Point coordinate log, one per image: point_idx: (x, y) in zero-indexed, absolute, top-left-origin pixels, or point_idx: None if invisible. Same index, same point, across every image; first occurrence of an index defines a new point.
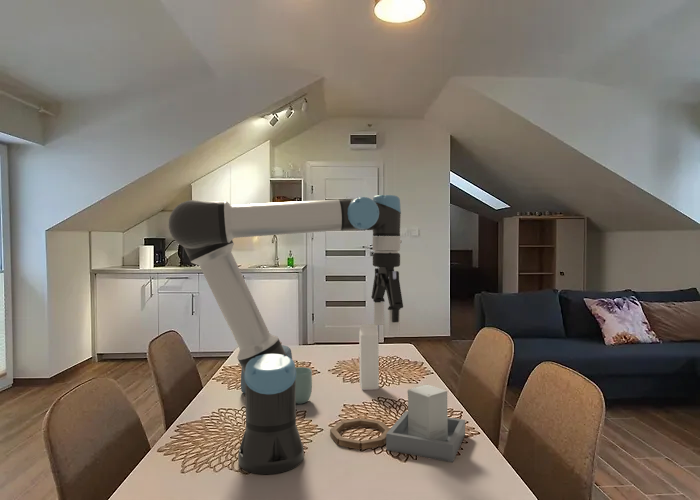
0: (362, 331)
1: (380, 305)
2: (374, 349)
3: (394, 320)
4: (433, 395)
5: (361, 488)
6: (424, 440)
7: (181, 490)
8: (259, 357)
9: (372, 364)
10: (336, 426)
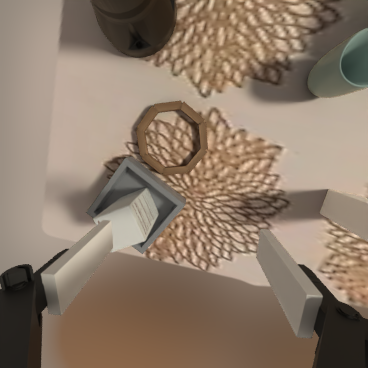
0: None
1: (291, 307)
2: None
3: (58, 255)
4: None
5: (62, 106)
6: (101, 191)
7: None
8: None
9: (354, 220)
10: (190, 112)
